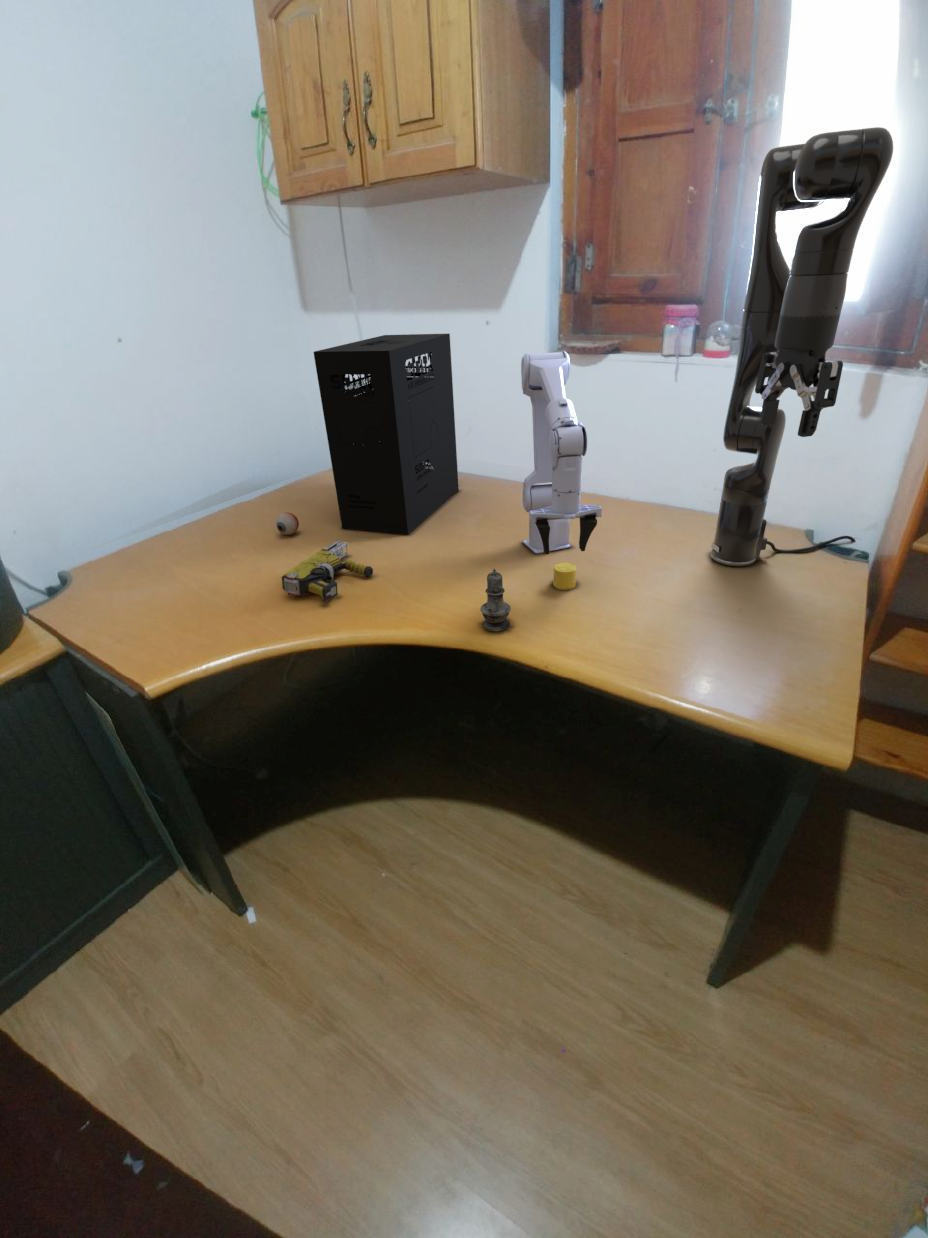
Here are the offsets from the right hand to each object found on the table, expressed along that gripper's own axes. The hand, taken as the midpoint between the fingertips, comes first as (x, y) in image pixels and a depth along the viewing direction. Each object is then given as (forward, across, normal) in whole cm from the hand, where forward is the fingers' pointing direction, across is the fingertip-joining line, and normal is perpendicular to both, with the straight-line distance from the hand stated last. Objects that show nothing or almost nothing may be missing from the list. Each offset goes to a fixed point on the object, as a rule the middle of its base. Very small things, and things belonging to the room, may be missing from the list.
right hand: (785, 429), depth 92 cm
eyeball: (+36, +81, +83) cm, 122 cm away
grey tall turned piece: (+36, +17, +42) cm, 58 cm away
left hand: (+29, +29, +24) cm, 47 cm away
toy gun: (+36, +48, +71) cm, 93 cm away
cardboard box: (+36, +90, +50) cm, 110 cm away
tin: (+36, +29, +24) cm, 52 cm away
